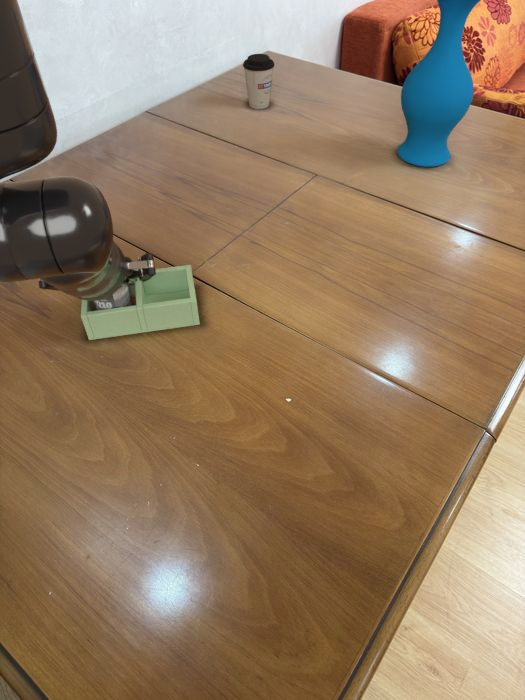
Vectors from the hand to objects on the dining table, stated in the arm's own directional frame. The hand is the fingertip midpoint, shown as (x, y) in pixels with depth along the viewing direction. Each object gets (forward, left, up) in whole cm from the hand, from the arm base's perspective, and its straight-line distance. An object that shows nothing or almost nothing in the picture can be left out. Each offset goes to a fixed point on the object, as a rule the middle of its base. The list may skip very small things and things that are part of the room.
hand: (109, 279), depth 72 cm
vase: (+60, +33, -5) cm, 68 cm away
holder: (+4, -2, -5) cm, 7 cm away
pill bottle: (0, -2, -4) cm, 5 cm away
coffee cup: (+33, +64, -5) cm, 72 cm away
